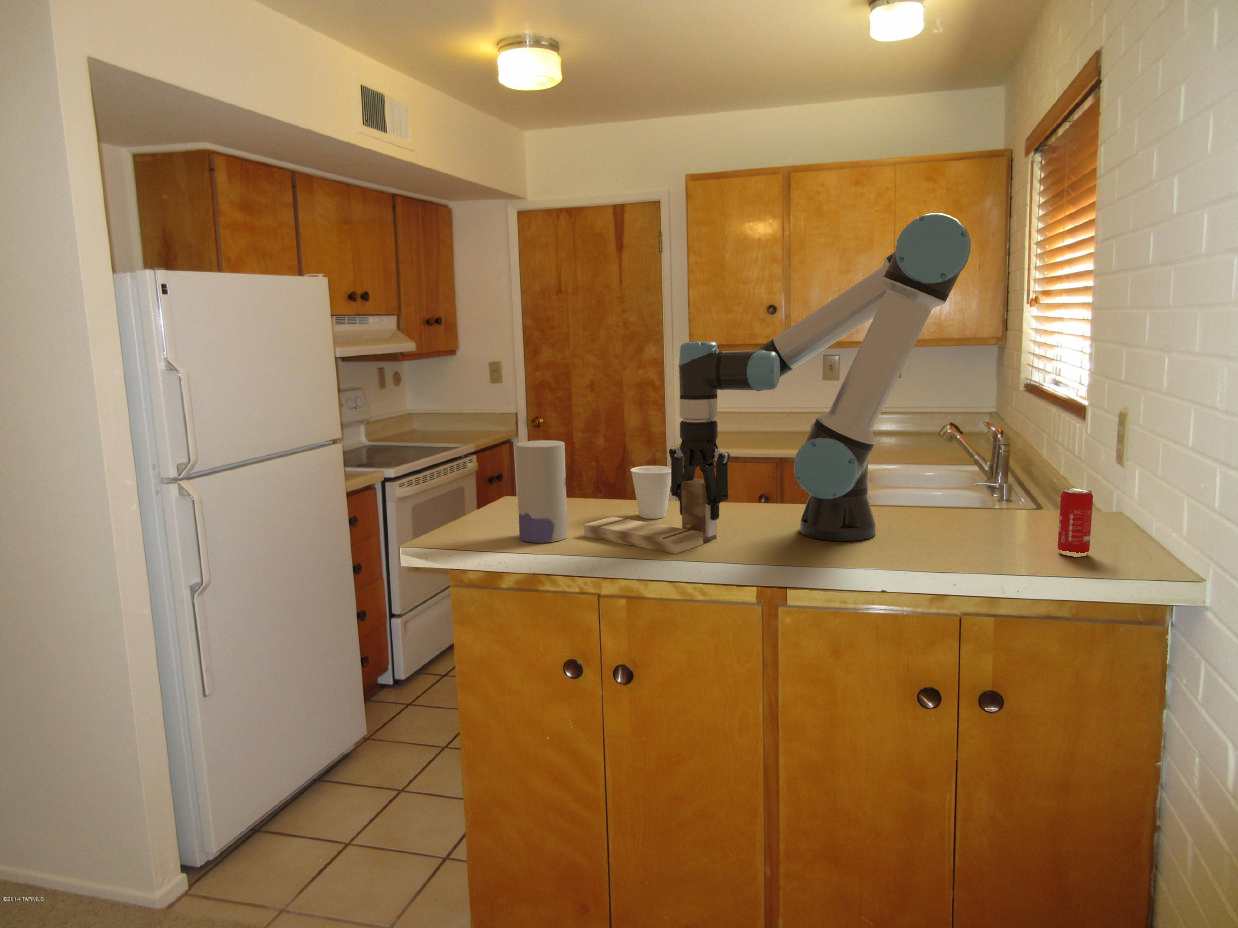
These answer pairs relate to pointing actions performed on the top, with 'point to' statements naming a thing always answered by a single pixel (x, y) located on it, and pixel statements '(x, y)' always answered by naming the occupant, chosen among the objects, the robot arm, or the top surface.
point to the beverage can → (1075, 520)
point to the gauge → (695, 507)
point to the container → (541, 491)
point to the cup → (652, 490)
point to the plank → (644, 534)
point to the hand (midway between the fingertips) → (699, 532)
